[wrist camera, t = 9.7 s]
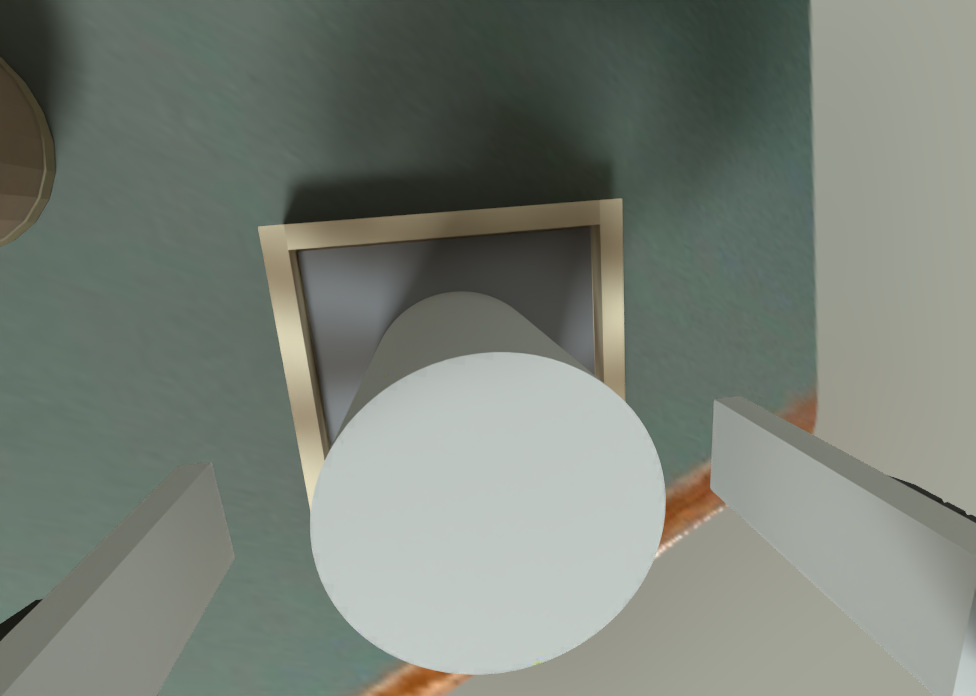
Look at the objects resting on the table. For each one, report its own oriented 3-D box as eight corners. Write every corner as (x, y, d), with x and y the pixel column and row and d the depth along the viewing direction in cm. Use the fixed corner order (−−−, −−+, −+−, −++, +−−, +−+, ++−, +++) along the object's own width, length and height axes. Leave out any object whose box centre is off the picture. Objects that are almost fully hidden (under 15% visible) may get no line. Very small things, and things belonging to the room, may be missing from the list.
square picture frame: (281, 227, 22) (257, 226, 19) (597, 203, 24) (622, 198, 21) (331, 517, 26) (318, 555, 23) (604, 480, 27) (626, 511, 24)
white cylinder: (344, 421, 23) (254, 617, 11) (416, 260, 21) (402, 287, 10) (500, 482, 24) (567, 710, 13) (576, 336, 23) (727, 437, 11)
